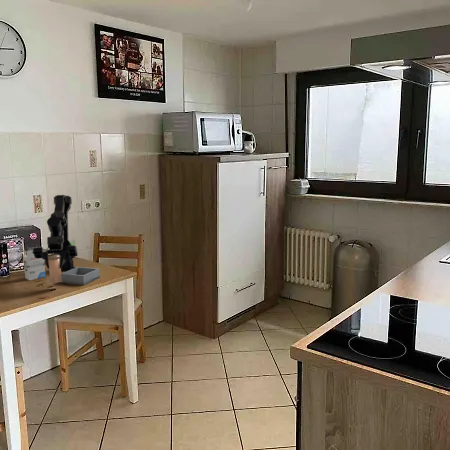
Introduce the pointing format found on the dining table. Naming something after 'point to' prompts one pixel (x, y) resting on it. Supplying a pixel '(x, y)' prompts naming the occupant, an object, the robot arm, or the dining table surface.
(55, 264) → the jar
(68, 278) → the box
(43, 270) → the ink box
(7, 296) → the dining table surface
